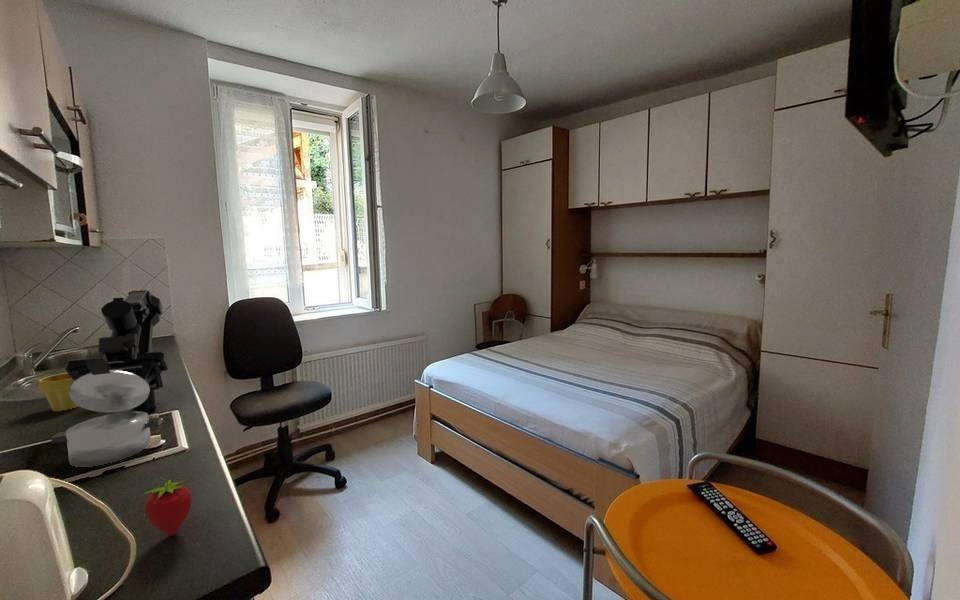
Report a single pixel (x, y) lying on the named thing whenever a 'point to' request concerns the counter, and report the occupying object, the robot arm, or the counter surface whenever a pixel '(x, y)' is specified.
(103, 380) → the cooker lid
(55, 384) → the plant pot
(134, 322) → the robot arm
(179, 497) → the strawberry
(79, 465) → the cooker pot
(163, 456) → the counter surface
